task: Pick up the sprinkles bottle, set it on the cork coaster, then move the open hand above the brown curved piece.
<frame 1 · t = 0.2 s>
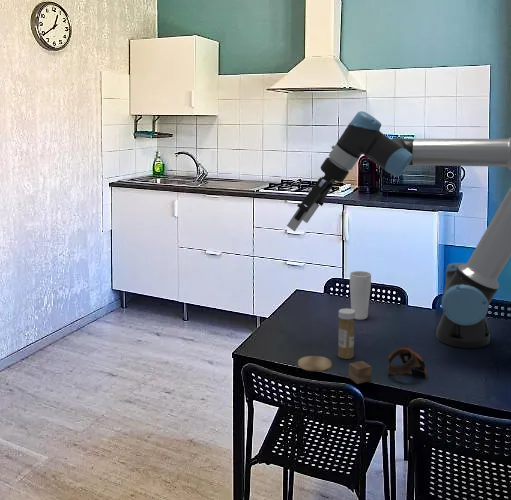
hand: (297, 224, 180), 35 cm above the table, tool tilted 35°, fingers open, 13 cm apart
drinking glass: (359, 318, 204), on the table
walnut block: (359, 379, 159), on the table
cork coaster: (314, 364, 168), on the table
sprinkles bottle: (345, 356, 173), on the table
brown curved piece: (406, 374, 162), on the table
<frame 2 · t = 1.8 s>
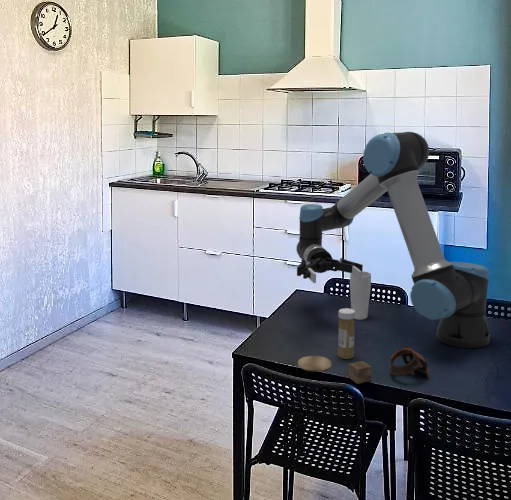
hand: (337, 277, 178), 20 cm above the table, tool horizontal, fingers open, 13 cm apart
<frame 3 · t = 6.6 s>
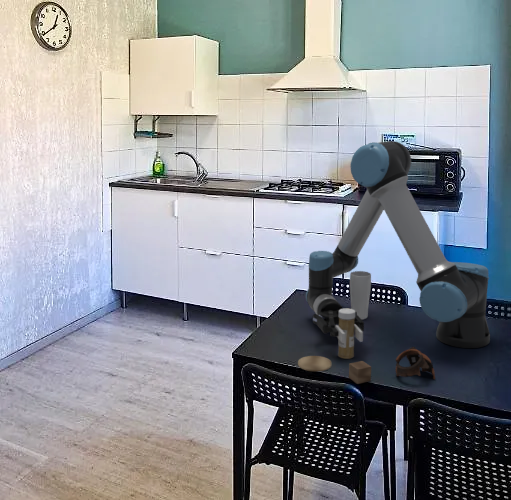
hand: (352, 337, 166), 8 cm above the table, tool horizontal, fingers closed on sprinkles bottle, 4 cm apart
sprinkles bottle: (345, 356, 173), on the table, touching gripper
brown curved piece: (414, 376, 161), on the table
everything else where it was.
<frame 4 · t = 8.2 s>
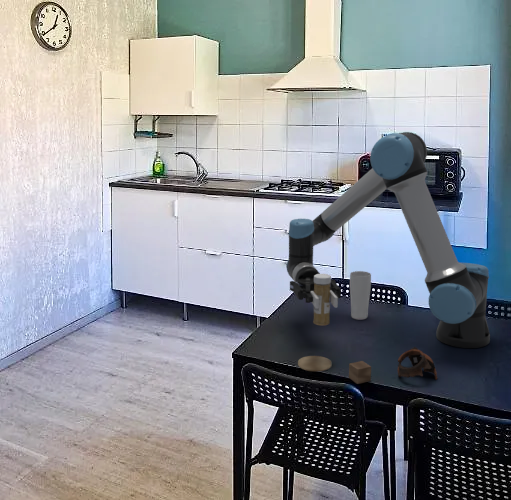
hand: (326, 302, 161), 18 cm above the table, tool horizontal, fingers closed on sprinkles bottle, 4 cm apart
sprinkles bottle: (321, 323, 168), point 11 cm above the table, touching gripper
when the fingers open (9 cm above the table, at t = 10.2 s): sprinkles bottle drops 1 cm, resting on cork coaster.
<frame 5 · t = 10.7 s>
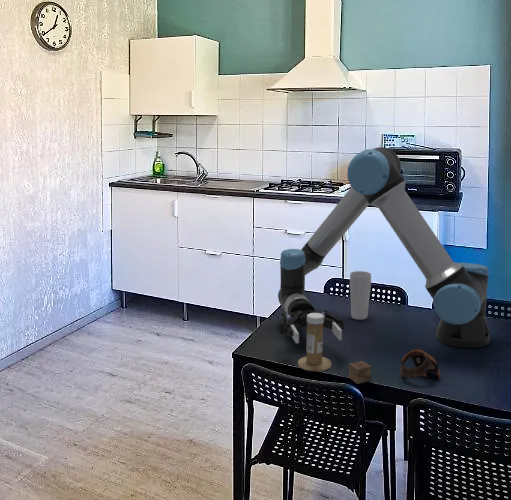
hand: (319, 336, 162), 9 cm above the table, tool horizontal, fingers open, 11 cm apart
sprinkles bottle: (313, 362, 168), resting on cork coaster
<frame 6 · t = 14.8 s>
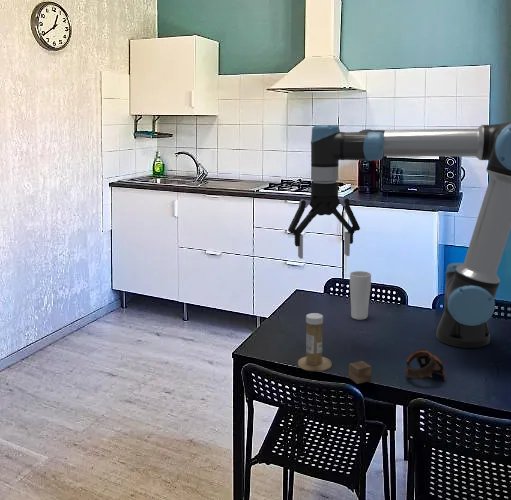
hand: (323, 256, 176), 26 cm above the table, tool pointing down, fingers open, 13 cm apart
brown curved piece: (424, 377, 160), on the table
everything else where it was.
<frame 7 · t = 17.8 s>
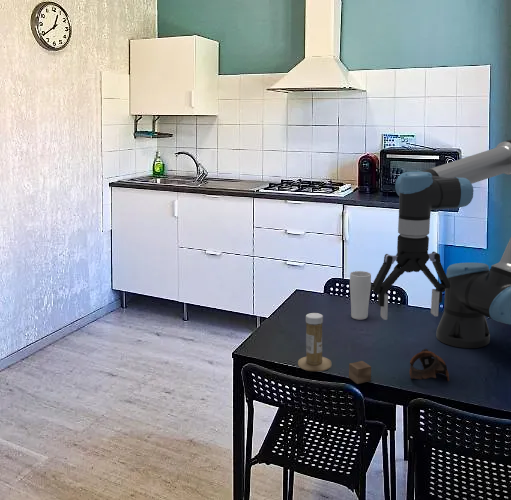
hand: (409, 316, 158), 16 cm above the table, tool pointing down, fingers open, 13 cm apart
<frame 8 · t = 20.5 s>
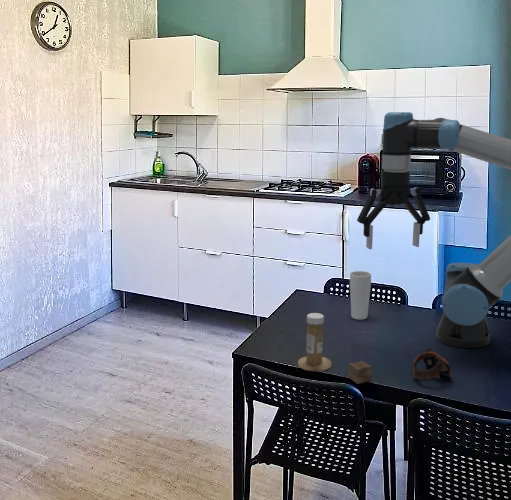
hand: (392, 247, 172), 30 cm above the table, tool pointing down, fingers open, 13 cm apart
at the end: sprinkles bottle 0.2 cm from the cork coaster (horizontally); sprinkles bottle tilted 1°; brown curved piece inside the target area (6.4 cm from its centre), on the table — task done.
